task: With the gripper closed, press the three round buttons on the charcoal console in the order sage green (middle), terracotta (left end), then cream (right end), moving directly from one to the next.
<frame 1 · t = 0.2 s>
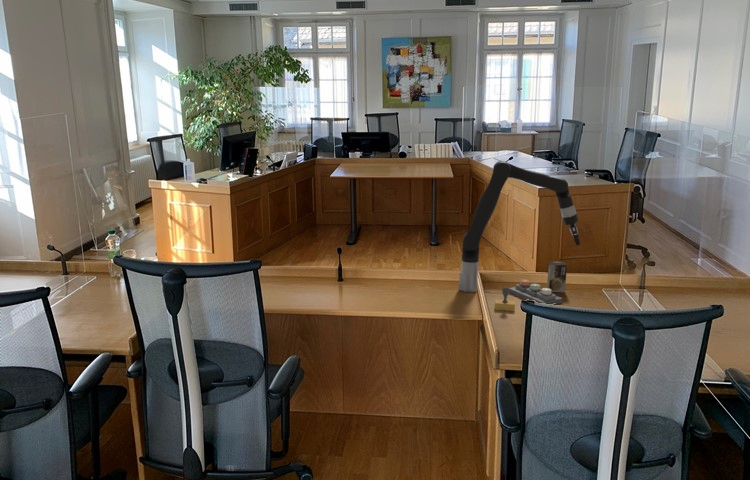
hand: (577, 242, 331), 31 cm above the table, tool tilted 20°, fingers open, 8 cm apart
console: (534, 297, 337), on the table
cream button: (546, 291, 329), point 6 cm above the table, slide at 0.0 cm
sage button: (535, 287, 336), point 6 cm above the table, slide at 0.0 cm
terracotta button: (525, 283, 342), point 6 cm above the table, slide at 0.0 cm
coffee box: (555, 290, 349), on the table
rubber stamp: (504, 309, 320), on the table
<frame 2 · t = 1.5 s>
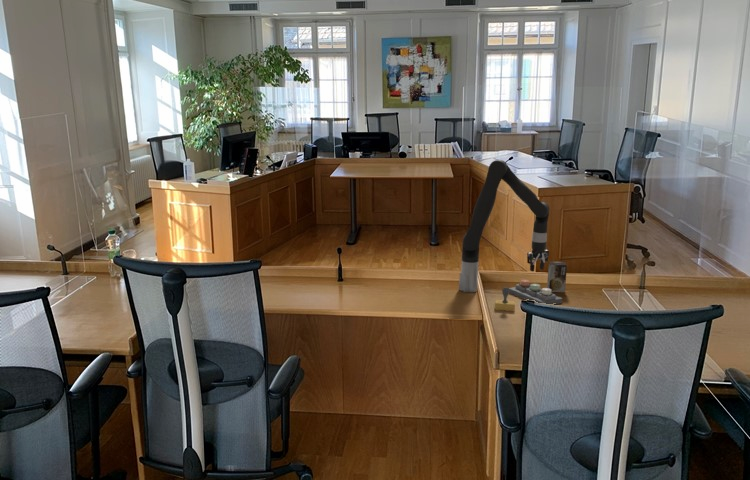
hand: (536, 270, 333), 16 cm above the table, tool pointing down, fingers open, 6 cm apart
nothing on the table moved.
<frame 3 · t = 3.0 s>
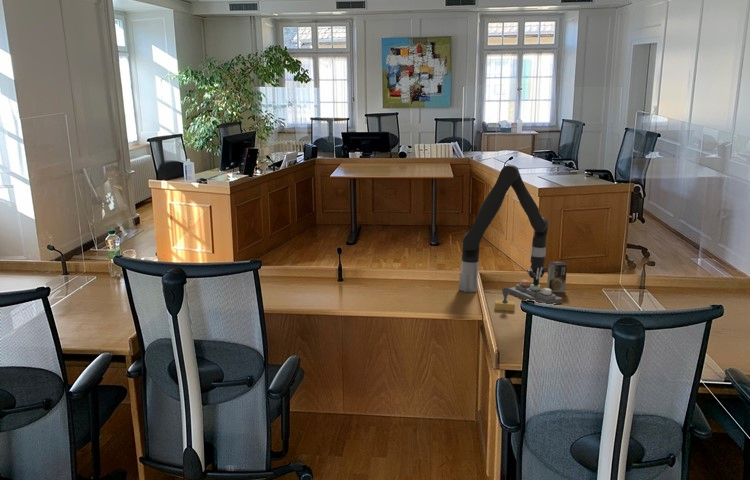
hand: (535, 285, 335), 7 cm above the table, tool pointing down, fingers closed
sage button: (535, 287, 336), point 6 cm above the table, slide at 0.0 cm, touching gripper
everything else where it was.
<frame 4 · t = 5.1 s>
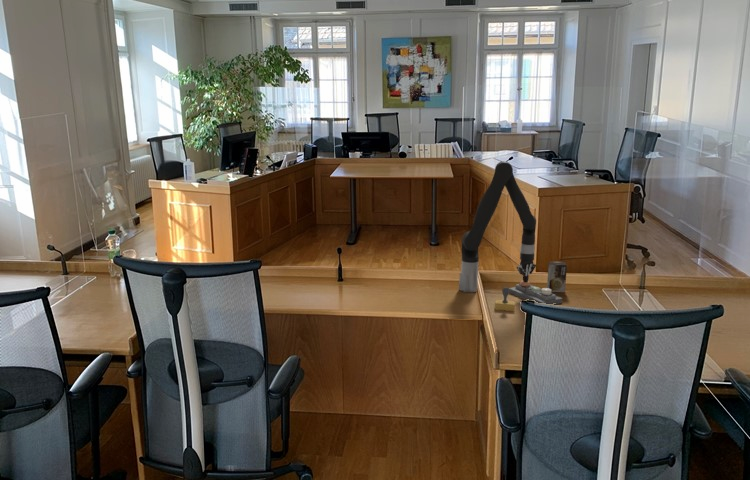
hand: (525, 281, 342), 7 cm above the table, tool pointing down, fingers closed
sage button: (535, 290, 336), point 4 cm above the table, slide at 1.6 cm
terracotta button: (524, 283, 342), point 5 cm above the table, slide at 0.4 cm, touching gripper
everything else where it was.
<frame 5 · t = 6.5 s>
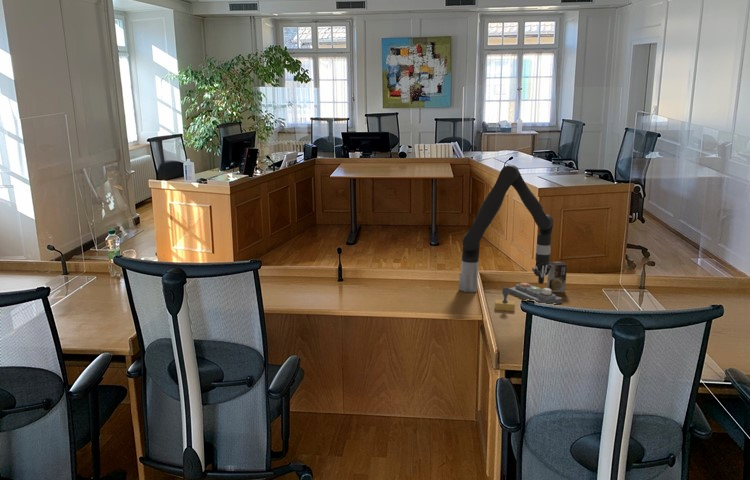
hand: (540, 283, 333), 9 cm above the table, tool pointing down, fingers closed
terracotta button: (524, 286, 343), point 4 cm above the table, slide at 1.7 cm
everything else where it was.
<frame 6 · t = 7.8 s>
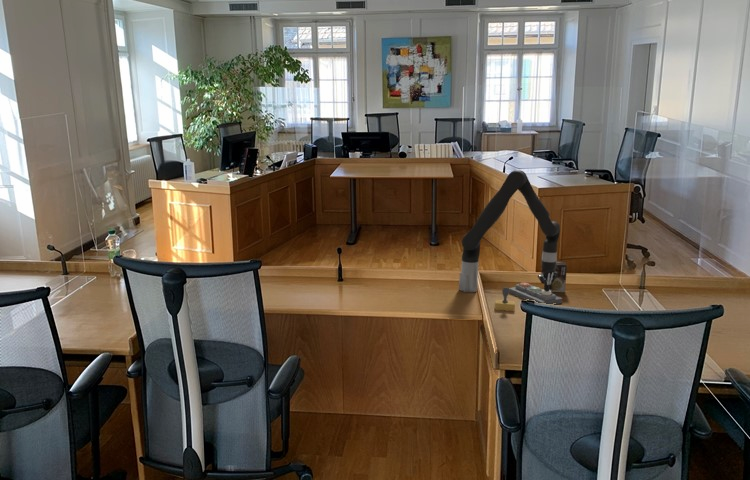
hand: (546, 290, 329), 6 cm above the table, tool pointing down, fingers closed
cream button: (546, 293, 329), point 5 cm above the table, slide at 0.7 cm, touching gripper
everything else where it was.
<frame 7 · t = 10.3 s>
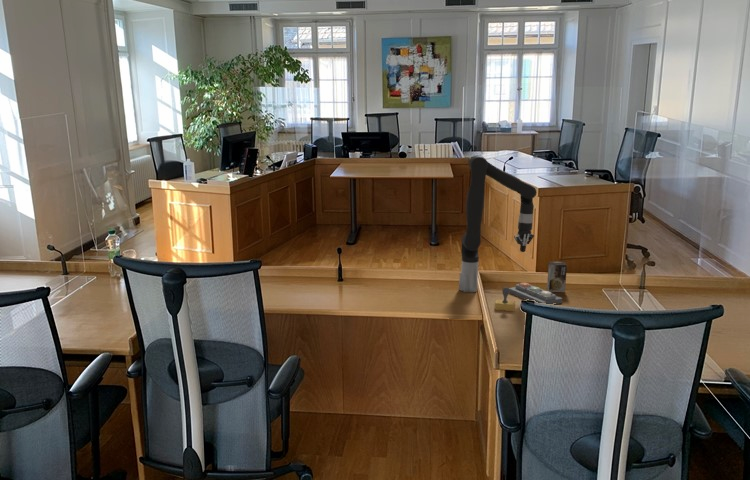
hand: (522, 251, 342), 23 cm above the table, tool pointing down, fingers closed
cream button: (546, 294, 329), point 4 cm above the table, slide at 1.6 cm
everything else where it was.
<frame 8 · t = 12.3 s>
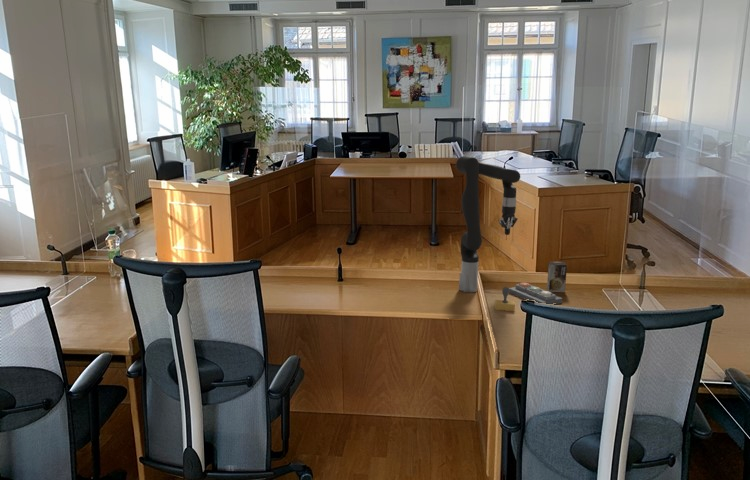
hand: (507, 234, 353), 29 cm above the table, tool pointing down, fingers closed
nothing on the table moved.
at the end: sage button slide at 1.6 cm; terracotta button slide at 1.7 cm; cream button slide at 1.6 cm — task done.
